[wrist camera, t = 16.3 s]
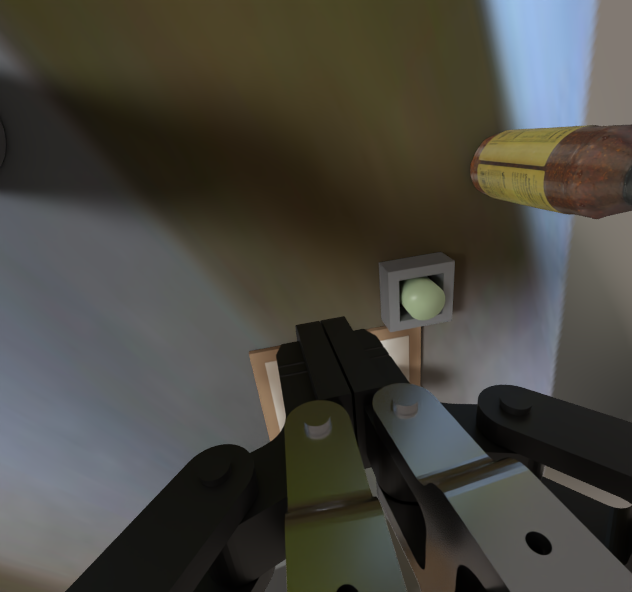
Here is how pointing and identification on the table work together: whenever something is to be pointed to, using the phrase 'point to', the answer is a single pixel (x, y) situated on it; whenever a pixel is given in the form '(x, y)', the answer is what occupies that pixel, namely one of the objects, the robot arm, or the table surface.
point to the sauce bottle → (559, 169)
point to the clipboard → (265, 368)
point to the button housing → (408, 269)
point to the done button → (421, 297)
